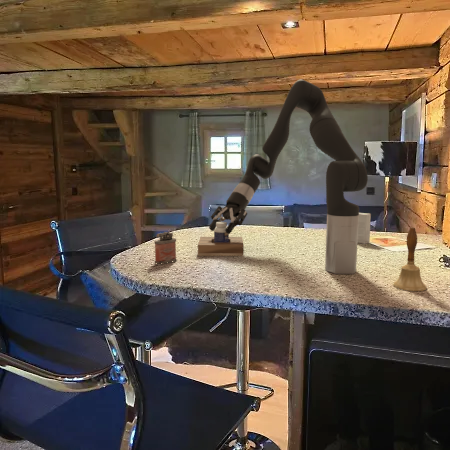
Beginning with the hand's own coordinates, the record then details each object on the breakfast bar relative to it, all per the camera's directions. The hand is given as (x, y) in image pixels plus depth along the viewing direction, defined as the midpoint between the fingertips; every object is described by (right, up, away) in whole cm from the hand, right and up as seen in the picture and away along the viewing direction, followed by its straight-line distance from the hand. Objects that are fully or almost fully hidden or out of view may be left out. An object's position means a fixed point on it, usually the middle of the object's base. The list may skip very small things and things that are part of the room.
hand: (218, 231), depth 156 cm
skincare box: (+58, -5, +20) cm, 61 cm away
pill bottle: (+1, -7, +2) cm, 7 cm away
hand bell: (+52, -15, -42) cm, 68 cm away
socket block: (+1, -8, +2) cm, 8 cm away
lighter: (-17, -10, -15) cm, 25 cm away
